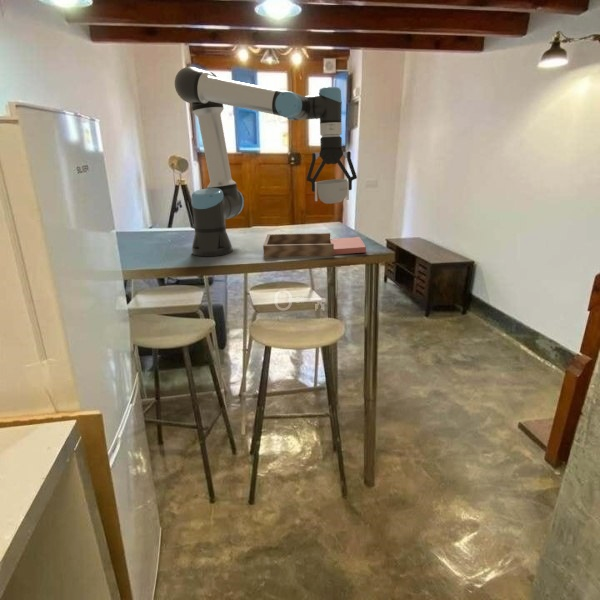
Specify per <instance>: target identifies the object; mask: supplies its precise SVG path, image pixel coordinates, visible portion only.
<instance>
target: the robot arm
mask: <svg viewBox="0 0 600 600" xmlns="http://www.w3.org/2000/svg"><path fill="white" fill-rule="evenodd" d="M174 88H175V92H176V94H177V95H178V96H179V98H180V99H182V100H183V101H184V102H185V103H188V104H190V106H191V109H192V114H194V115H195V116H196V117H197V119H198V125H199V126H198V127H199V130H200V136H201V140H202V146H203V151H204V155H205V156H204V157H205V161H206V167H207V172H208V178H209V183H208V184H207V186H206V188H203V189H202V188H201V189H198V190H195V191H193V192H192V193H191V196H190V197H191V201H190V203H191V208H192V209H191V210H192V211H191V212H192V219H193V227H194V235H193V236H194V237H193V242H192V246H191V250H192V251H191V253H192V254H193V255H194V256H197V257H218V256H223V255H224V256H225V255H228V254H230V253H232V252H233V245H232V242H231V240H230V237H229V235H228V232H227V228H226V220H229V219H233V218H235V217H236V216H239V214H240V213H242V210H243V209H244V206H245V205H244V204H245V202H244V199H245V198H244V196H243V194H242V193H241V191H239V190H238V184H237V182H236V181H234V180H233V178H232V174H231V166H230V162H229V156H228V150H227V149H228V148H227V144H226V140H225V139H226V138H225V132H224V127H223V121H222V115H221V114H222V112H223V110H224V109H225V108H224V105H225V106H226V105H227V106H231V107H236V108H240V109H245V110H251V111H255V112H260V113H264V114H265V113H266V114H271V115H274V116H280V117H283V118H287V119H288V120H289V121H297V122H298V121H303V120H305V121H306V120H315V119H316V120H319V135H320V136H321V137H320V138H319V139H320V143H319V144H320V151H319V152H312V154H311V162H310V166H309V168H308V169H309V170H308V172H307V176H306V181H307V182H310V183H311V191H312V192H314V201H315V202H318V188H317V182H318V181H316V180H317V179H318V177H319V175H320V174H321V172H322V170H323V168H324V167H325V165H331V164H332V165H338V166H339V168H340V169H341V171H342V173H343V174H344V176H345V177H346V180H347V195H346V198H345V199H346V200H347V201H349V200H350V191H352V189H353V181H354V180H357V178H358V176H357V172H356V170H355V167H354V163H353V161H352V159H351V155H352V153H351V151H349V150H348V151H343V149H342V148H343V147H342V145H343V141H342V140H343V139H342V136H341V135H342V132H343V131H342V129H343V128H342V127H343V126H342V125H343V124H342V111H343V110H342V108H343V106H342V103H343V101H342V89H341V88H340V87H338V86H326V87H325V86H324V87H321V88H319V92H318V94H316V95H303V94H298V93H296V92H294V91H290V90H281V89H277V88H271V87H266V86H260V85H256V84H252V83H251V84H250V83H246V82H241V81H237V80H231V79H225V78H221V77H219V76H218V75H217V74H215V73H213V72H211V71H210V70H204V69H200V68H197V67H195V66H185V67H183V68H181V69H180V70H179V71H178V72H177V73H176V76H175V77H174ZM343 156H344V158H345V159H346V161H347V164H348V166H349V170H350V173H351V175H350V173H349V172H348V170H347V169H346V167H345V166H344V164H343V163H342V161H341V159H342V157H343ZM319 157H320V158H321V160H322V161H321V163H320V165H319V166H318V168H317V169H316V172H315V173H314V175H313V177H312V174H313V170H314V168H315V165H316V164H315V163H316V160H317V159H318V158H319Z"/></svg>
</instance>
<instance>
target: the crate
mask: <svg viewBox="0 0 600 600" xmlns="http://www.w3.org/2000/svg"><path fill="white" fill-rule="evenodd" d="M330 239H331V233H330V232H320V233H318V232H316V233H315V232H313V233H267V234H266V237H265V239H264V240H265V241H264V242H263V245H262V247H263V259H267V257H268V259H270V257H272V259H273V258H280V257H281V258H285V257H287V258H288V257H289V258H290V257H291V258H292V257H293V258H294V257H334V244H330Z"/></svg>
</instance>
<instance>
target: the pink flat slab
mask: <svg viewBox="0 0 600 600" xmlns="http://www.w3.org/2000/svg"><path fill="white" fill-rule="evenodd" d="M330 244H334V255H345V254H356V253H357V254H360V253H362V254H363V253H366V252H367V247H366V245H365V243H364V241H363V240H362V238H361V237H360V236H354V237H343V238H342V237H340V238H330Z"/></svg>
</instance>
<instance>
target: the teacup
mask: <svg viewBox="0 0 600 600" xmlns="http://www.w3.org/2000/svg"><path fill="white" fill-rule="evenodd" d="M347 181H348V179H347V178H346V179H345V178H335V179H325V180H321V181H320V180H319V181H316V182H317V197H318V199H319V201H321V202H323V203H324V204H326V205H327V204H329V205H330V204H338V203H342V202H343V201H344V200H345V199H346V195H347Z"/></svg>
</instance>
